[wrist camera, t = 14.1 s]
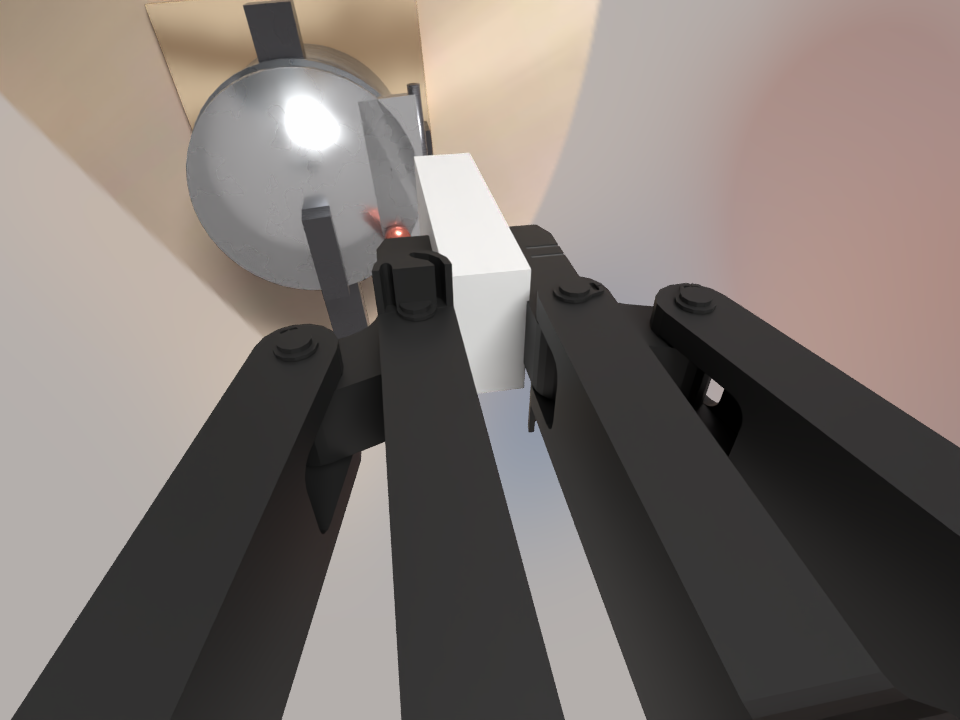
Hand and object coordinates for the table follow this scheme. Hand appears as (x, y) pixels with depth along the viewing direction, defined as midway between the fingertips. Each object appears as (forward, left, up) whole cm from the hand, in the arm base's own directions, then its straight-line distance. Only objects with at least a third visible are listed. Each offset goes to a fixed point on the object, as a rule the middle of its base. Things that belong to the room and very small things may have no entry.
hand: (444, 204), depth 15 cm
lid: (+7, -6, -22) cm, 24 cm away
